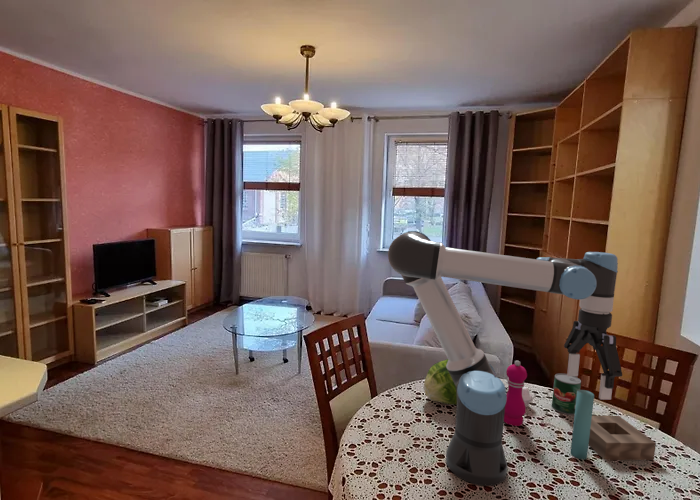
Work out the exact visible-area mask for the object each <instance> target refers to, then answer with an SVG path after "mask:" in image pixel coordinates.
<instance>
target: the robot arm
mask: <svg viewBox="0 0 700 500" xmlns="http://www.w3.org/2000/svg"><path fill="white" fill-rule="evenodd" d="M387 258H388V262H389V264H390V266H391V268H392V269H393V271H395V272H396V273H398V274H399V275H401V277H402V279H403V281H404V282H405V283H404V284H406V285H408V286H410V287H412V288H413V290H414V292H415V294H416V297H417V299H418V300H419V302H420V304H421V306H422V308H423V311H424V313H425V315H426V317H427V318H428V320H429V323H430V325H431V327H432V329H433V331H434V333H435V335H436V337H437V339H438V341H439V343H440V345H441V348H442V350H443V351H444V354H445V355H446V358H447V359H448V362H447V365H446V367H447V370H448V372H449V374H450V376H451V378H452V380H453V382H454V384H455V387H456V396H457V405H456V410H455V411H456V413H455V425H454V426H455V427H454V432H453V435H452V437H451V440H450V442H449V444H448V447H447V448H446V454H445V462H446V466H447V467H448V469H449V471H451V472H452V474H454V475H455V476H457V477H458V478H460V479H461V480H464V481H466V482H467V483H470V484H475V485H478V486H495V485H499V484H500V483H503V481H505V479H506V477H507V473H508V463H507V459H506V455H505V451H504V446H503V443H502V442H503V434H504V433H503V432H504V423H505V422H504V413H505V404H506V400H507V396H506V394H507V388H506V386H505V383H504V381H502V380H501V378H499V377H497V374H496V371H495V369H494V367H493V366H492V365H491V363H489V360H488V359H487V356H486V354H485V352H484V351H483V350H482V349H480V348H477V347H476V346H475V343H474V342H473V340H472V338H471V336H470V333H469V331H468V329H467V328H466V326H465V323H464V321H463V319H462V317H461V315H460V313H459V311H458V309H457V306H456V305H455V302H454V301H453V299H452V297H451V294H450V293H449V290H448V288H447V286H446V284H445V282H444V280H443V278H449V279H456V280H461V281H463V280H464V281H469V282H476V283H477V282H478V283H484V284H491V285H498V286H503V287H504V286H505V287H511V288H518V289H523V290H524V289H525V290H532V291H539V292H543V293H544V292H545V293H550V294H556V295H557V294H558V295H561V296H565V297H567V298H569V299H572V300H579V308H580V309H578V317H577V320H573V323H572V329H570V331H569V334H568V337H567V338H566V340H565V343H564V345H563V347H564V349H567V353H568V359H567V361H568V362H567V363H568V364H567V373H566V374H567V375H568V376H575V377H578V376H579V366H580V357H581V350H582V349H583V348H584V347H585V345H586V344H588V345H590V346H591V347H592V349H593V350H595V352H596V355H597V358H598V360H599V363H600V366H601V369H602V372H603V373H601V374H600V381H599V382H600V383H599V384H600V385H599V393H598V399H599V400H612V393H613V389H614V383H615V378H616V377H617V378H619V377H623V371H622V366H621V362H620V356H619V354H618V348H617V337H616V335H609V334H608V333H607V330H608V329H609V328H611V326H612V319H613V314H612V312H613V310H614V299H615V290H616V282H617V275H618V269H619V268H618V264H619V263H618V260H619V259H618V257H617V255H616V254H615V253H610V252H602V251H600V252H599V251H587V252H585V253H584V256H583V258H577V259H575V258H566V257H565V258H562V257H551V256H546V257H541V256H540V257H537V258H536V259H535V258H528V257H527V258H526V257H521V256H515V255H514V256H512V255H506V254H505V255H504V254H499V253H498V254H497V253H493V252H485V251H484V252H482V251H477V250H476V251H475V250H467V249H461V248H453V247H446V246H445V245H444V243H443V242H438V241H433V240H431V239H430V238H429V237H428V236H427V235H426V234H424V233H423V232H420V231H418V230H408V231H406V232H403V233H402V234H400V235H398V236H397V237H396V238H394V239H393V241H392V242H391V243H390V245H389V247H388V250H387ZM442 277H443V278H442Z"/></svg>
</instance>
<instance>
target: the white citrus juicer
mask: <svg viewBox="0 0 700 500" xmlns="http://www.w3.org/2000/svg"><path fill="white" fill-rule="evenodd" d="M522 398H523V400H524V403H525V407H526V408H527V407H528V406H529V405H530V403H531V402H532V401H533V395H532V394H531V393H530V390H529V388H528V387H527V386H525V385H524V387H523V388H522Z"/></svg>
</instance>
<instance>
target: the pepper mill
mask: <svg viewBox="0 0 700 500" xmlns="http://www.w3.org/2000/svg"><path fill="white" fill-rule="evenodd" d="M527 372H528V371H527V370H526V368H525V367H524V366H522V365H521V361H519V360H514V364H509V366H508V367H507V368H506V377H507V382H506V383H507V385H508V388H507V389H508V390H507V391H506V396H507V400H506V404H505V413H504V423H505V424H506V425H510V426H513V427H514V426H515V427H519V426H522V425H523V423H524V417H523V416H525V414H526V412H527V411H526V410H527V407H525V403H524V400H523V398H522V388H523V387H524V386H525V380H526V379H527V378H528V373H527Z"/></svg>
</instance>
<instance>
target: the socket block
mask: <svg viewBox="0 0 700 500" xmlns="http://www.w3.org/2000/svg"><path fill="white" fill-rule="evenodd" d="M588 447H590V448H591V449H593V451H594V452H596V454H598V455H599V456H600V457H601V458H602V459H603V460H605V461H606V460H607V461H654V460H655V453H656V447H657V443H656V442H655V441H654V440H652V439H651V438H650V437H648V436H647V435H645V434H644V433H643V432H641V431H640V430H639V429H638V428H636V427H635V426H633V425H632V424H631V423H629V421H627V420H625V419H624V418H622V417H621V416H620V415H594V414H592V419H591V428H590V436H589V445H588Z"/></svg>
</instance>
